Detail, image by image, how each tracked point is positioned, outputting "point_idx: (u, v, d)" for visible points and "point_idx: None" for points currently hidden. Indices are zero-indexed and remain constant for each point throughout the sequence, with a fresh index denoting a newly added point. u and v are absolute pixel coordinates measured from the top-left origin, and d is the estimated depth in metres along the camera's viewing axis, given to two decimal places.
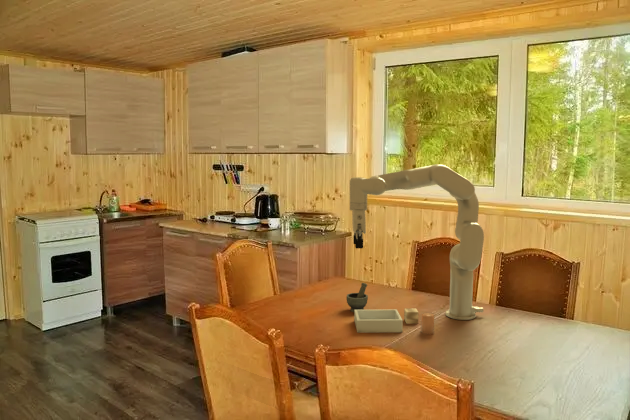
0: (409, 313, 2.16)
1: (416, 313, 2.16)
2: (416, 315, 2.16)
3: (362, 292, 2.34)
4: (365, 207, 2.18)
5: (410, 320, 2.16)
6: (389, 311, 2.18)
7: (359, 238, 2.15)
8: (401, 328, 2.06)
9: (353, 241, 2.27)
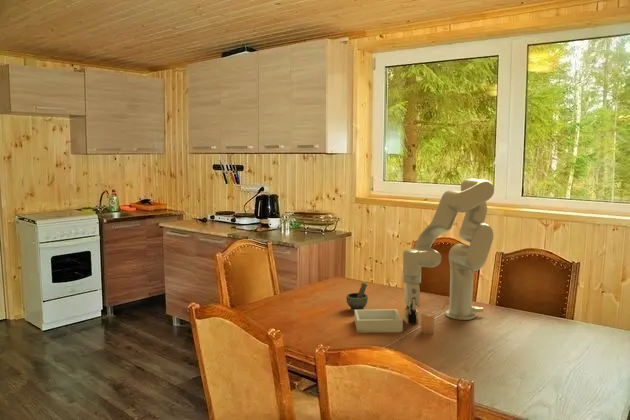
0: None
1: (416, 313, 2.16)
2: (416, 315, 2.16)
3: (362, 292, 2.34)
4: (419, 280, 2.14)
5: None
6: (389, 311, 2.18)
7: (412, 314, 2.14)
8: (401, 328, 2.06)
9: None
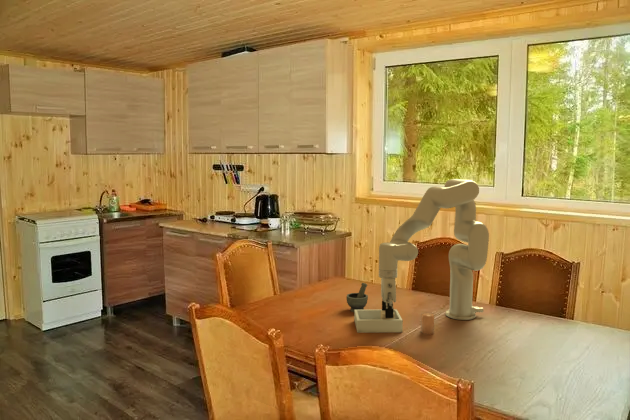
0: None
1: None
2: None
3: (362, 292, 2.34)
4: (395, 274, 2.08)
5: None
6: None
7: (389, 308, 2.06)
8: (401, 328, 2.06)
9: None
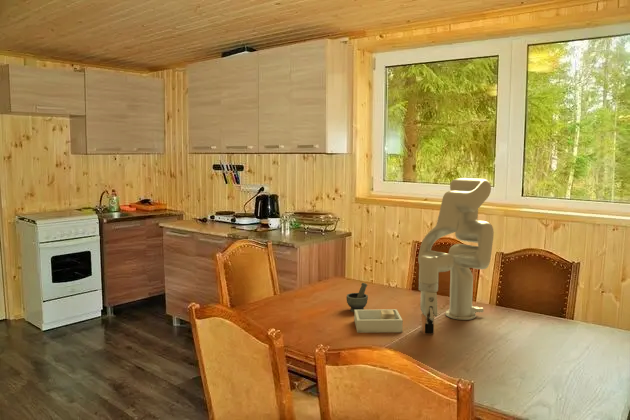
0: (385, 315, 2.10)
1: (392, 315, 2.10)
2: (392, 317, 2.10)
3: (362, 292, 2.34)
4: (436, 288, 2.02)
5: None
6: None
7: (429, 324, 2.02)
8: (401, 328, 2.06)
9: None
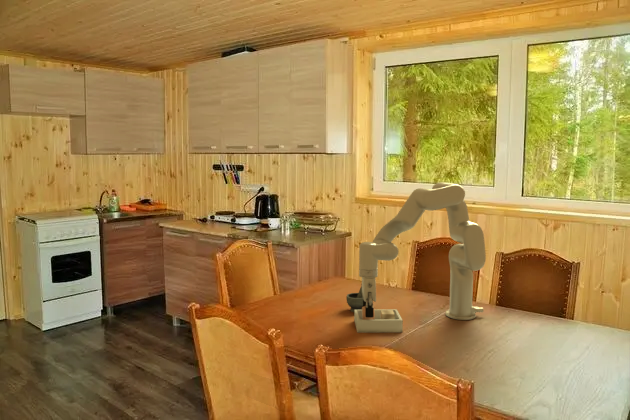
0: (385, 315, 2.10)
1: (392, 315, 2.10)
2: (392, 317, 2.10)
3: None
4: (375, 274, 2.08)
5: None
6: None
7: (369, 307, 2.06)
8: (401, 328, 2.06)
9: None
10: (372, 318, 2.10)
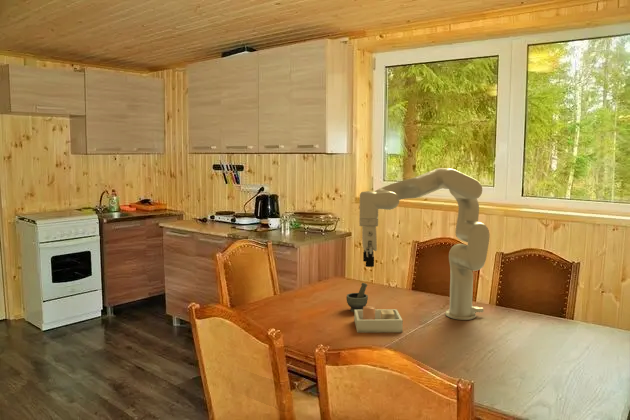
0: (385, 315, 2.10)
1: (392, 315, 2.10)
2: (392, 317, 2.10)
3: (362, 292, 2.34)
4: (376, 223, 2.05)
5: None
6: None
7: (370, 256, 2.03)
8: (401, 328, 2.06)
9: (363, 258, 2.15)
10: (372, 319, 2.10)
